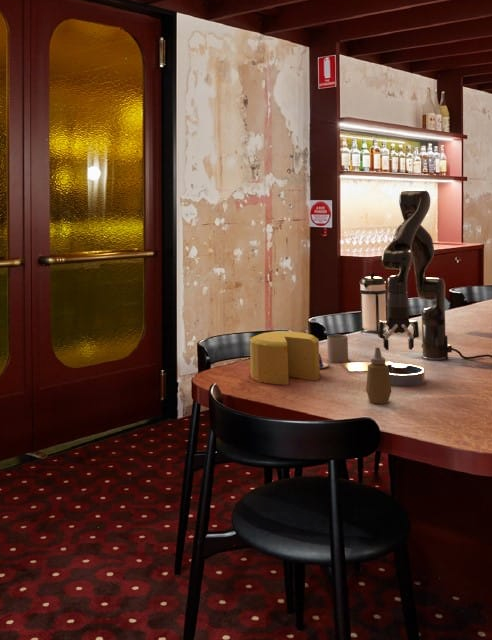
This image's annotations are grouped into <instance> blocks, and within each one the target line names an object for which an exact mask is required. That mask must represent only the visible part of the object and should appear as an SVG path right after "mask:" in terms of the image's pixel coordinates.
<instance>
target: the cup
mask: <svg viewBox="0 0 492 640" xmlns="http://www.w3.org/2000/svg"><path fill="white" fill-rule="evenodd" d="M348 338H349V337H348V335H347V334H329V335H326V341H327V344H326V345H327V361H328V362H329V363H333V364H334V363H335V364H336V363H337V364H343V363H349V339H348Z"/></svg>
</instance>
